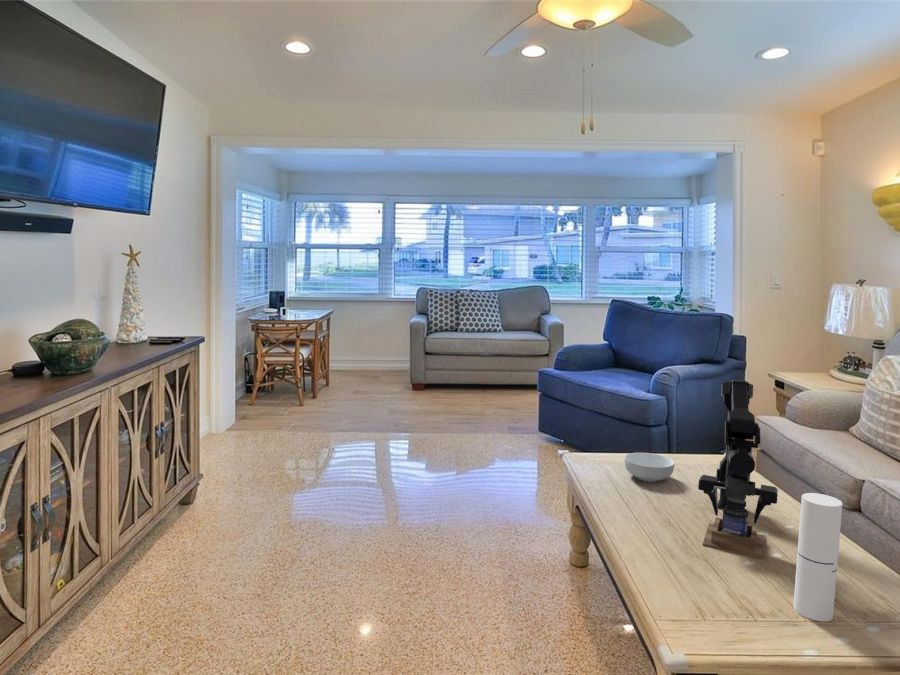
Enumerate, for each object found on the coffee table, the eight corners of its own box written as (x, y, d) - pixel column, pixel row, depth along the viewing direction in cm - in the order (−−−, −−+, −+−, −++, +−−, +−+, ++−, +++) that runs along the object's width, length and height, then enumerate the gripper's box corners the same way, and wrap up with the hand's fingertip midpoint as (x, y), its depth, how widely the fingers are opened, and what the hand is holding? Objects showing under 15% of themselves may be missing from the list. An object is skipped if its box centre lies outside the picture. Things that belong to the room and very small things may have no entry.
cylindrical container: (785, 602, 122) (793, 493, 120) (816, 600, 123) (824, 492, 120) (809, 622, 115) (818, 507, 113) (841, 620, 116) (851, 505, 113)
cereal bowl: (681, 487, 190) (682, 467, 189) (632, 486, 190) (633, 466, 190) (663, 470, 207) (663, 451, 206) (618, 469, 207) (619, 451, 206)
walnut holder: (708, 525, 160) (709, 513, 160) (764, 537, 153) (765, 524, 153) (702, 545, 148) (703, 532, 148) (762, 559, 141) (763, 545, 141)
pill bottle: (749, 545, 147) (752, 505, 146) (724, 543, 148) (727, 503, 147) (742, 535, 153) (745, 496, 152) (718, 532, 154) (721, 494, 153)
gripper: (697, 465, 146) (694, 522, 148) (779, 479, 137) (774, 539, 139) (702, 454, 156) (699, 507, 158) (779, 466, 146) (775, 522, 148)
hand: (735, 519), depth 150 cm, fingers open, 9 cm apart
